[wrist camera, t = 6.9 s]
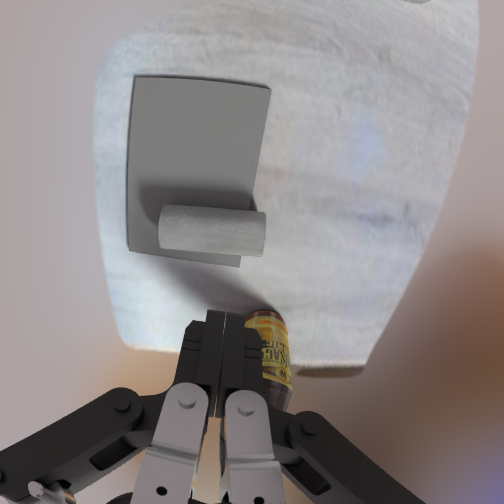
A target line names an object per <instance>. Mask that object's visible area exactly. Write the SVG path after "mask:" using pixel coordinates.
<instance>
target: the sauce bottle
mask: <svg viewBox="0 0 504 504" xmlns="http://www.w3.org/2000/svg"><path fill="white" fill-rule="evenodd" d="M245 327H247V328H255V329H257V331H258V333H259V335H260V337H261V338H262V365H263V392H264V396H265V398H266V400H267V401H268V402H269V403H270V404H271V405H272V406H273V407H275V408H276V409H278V410H281V411H284V412H286V411H287V407H288V404H289V400H290V397H291V394H292V381H291V368H290V357H289V344H288V332H287V328H286V325H285V322H284V320H283V318H282V317H281V316H280V315H279V314H276V313H274V312H271V311H266V310H261V311H257V312H255V313H252V314H250V315H249V316H247V317H246V319H245Z"/></svg>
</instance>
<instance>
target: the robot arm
mask: <svg viewBox="0 0 504 504" xmlns="http://www.w3.org/2000/svg"><path fill="white" fill-rule="evenodd" d="M406 1H409V2H413V3H423V2H427V1H429V0H406ZM224 322H225V327H224ZM223 331H224V334H223ZM216 397H217V402H216ZM215 403H216V413H215V417H216V418H221V423H220V432H219V466H220V483H219V500H220V503H218V504H286V501H285V494H284V487H283V479H282V472H283V473H284V474H285V475H286V476H287V477H288V478H289V479H290V480H291V481H292V482H293V483H294V484H295V485H296V486H297V487H298V488H299V489H300V490H301V491H302V492H303V493H304V494H305V495H306V496H307V497H308V498H309V499H310V500H312V501H313V502H314V503H315V504H426V503H424V502H423V501H422V500H420V499H419V498H418V497H416V496H415V495H414V494H412V493H411V492H410V491H409V490H407V489H406V488H405V487H404V486H402V485H401V484H400V483H398V482H397V481H396V480H395V479H393V478H392V477H391V476H390V475H389V474H387V473H386V472H385V471H384V470H382V469H381V468H380V467H379V466H378V465H376V464H375V463H374V462H373V461H372V460H371V459H369V458H368V457H367V456H366V455H365V454H364V453H362V452H361V451H360V450H359V449H358V448H357V447H355V446H354V445H353V444H352V443H351V442H350V441H349V440H348V439H346V438H345V437H344V436H343V435H342V434H341V433H340V432H339V431H338V430H336V429H335V428H334V427H333V426H332V425H331V424H330V423H329V422H328V421H327V420H326V419H325V418H324V417H322V416H321V415H320V414H318V413H315V412H311V411H303V412H300V413H297V414H296V415H293V414H290V413H287V412H284V411H281V410H278V409H276V408H275V407H273V406H272V405H271V404H270V403H269V402H268V401H267V400H266V398H265V396H264V392H263V365H262V338H261V337H260V335H259V333H258V331H257V329H255V328H247V327H245V314H238V313H230V312H227V315H226V321H225V312H222V311H215V310H208V311H207V316H206V322H202V321H195V320H193V321H192V322H191V323H190V324H189V325H188V327H187V328H186V330H185V334H184V338H183V342H182V347H181V351H180V356H179V360H178V365H177V369H176V374H175V378H174V382H173V384H172V385H171V387H170V388H169V389H168V390H166V391H165V392H163V393H160V394H157V395H148V396H139V395H138V394H137V393H136V392H134V391H133V390H131V389H128V388H123V387H121V388H120V387H119V388H115V389H112V390H110V391H108V392H106V393H105V394H103V395H102V396H100V397H98V398H96V399H95V400H93V401H91V402H90V403H88V404H86V405H84V406H83V407H81V408H79V409H77V410H76V411H74V412H72V413H71V414H69V415H67V416H65V417H63V418H62V419H60V420H58V421H56V422H54V423H53V424H51V425H49V426H47V427H45V428H44V429H42V430H40V431H38V432H36V433H34V434H32V435H31V436H29V437H27V438H25V439H23V440H21V441H19V442H17V443H15V444H14V445H12V446H10V447H8V448H6V449H4V450H2V451H0V495H1V496H2V497H4V498H5V499H6V500H7V501H8V503H9V504H76V500H75V498H74V494H75V493H77V492H79V491H81V490H83V489H84V488H86V487H87V486H89V485H91V484H93V483H94V482H96V481H97V480H99V479H101V478H102V477H104V476H106V475H107V474H109V473H110V472H112V471H113V470H115V469H116V468H118V467H120V466H121V465H123V464H124V463H126V462H127V461H129V460H130V459H131V458H133V457H134V456H136V455H137V454H139V453H140V452H142V451H143V450H145V449H146V448H147V449H146V451H145V454H144V457H143V460H142V463H141V467H140V470H139V474H138V477H137V481H136V484H135V488H134V492H130V493H126V494H123V495H120V496H118V497H116V498H114V499H113V500H111V501H110V502H108V503H107V504H206V503H203V502H200V501H197V500H194V499H193V496H194V491H195V485H196V478H197V472H198V467H199V462H200V457H201V451H202V446H203V441H204V436H205V434H206V432H207V426H208V417H213V416H214V410H215ZM281 471H282V472H281Z"/></svg>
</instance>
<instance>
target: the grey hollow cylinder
mask: <svg viewBox="0 0 504 504" xmlns="http://www.w3.org/2000/svg"><path fill="white" fill-rule="evenodd" d="M265 230H266V214H265V213H264V212H257V211H247V210H235V209H224V208H211V207H198V206H184V205H168V204H165V205H164V206H163V207H162V209H161V211H160V215H159V219H158V228H157V236H158V243H159V246H160V247H161V248H163V249H174V250H185V251H196V252H208V253H219V254H231V255H243V256H254V257H261V256H262V253H263V248H264V241H265Z"/></svg>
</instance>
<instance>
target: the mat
mask: <svg viewBox="0 0 504 504" xmlns="http://www.w3.org/2000/svg"><path fill="white" fill-rule="evenodd" d="M270 95H271V89H265V88H260V87H253V86H247V85H240V84H232V83H224V82H215V81H205V80H192V79H176V78H136V81H135V88H134V96H133V106H132V116H131V127H130V141H129V160H128V240H129V251H132V252H138V253H145V254H151V255H157V256H164V257H170V258H177V259H184V260H190V261H197V262H204V263H211V264H218V265H225V266H232V267H239V266H240V260H241V255H231V254H219V253H208V252H196V251H185V250H174V249H163V248H161V247H160V246H159V243H158V236H157V228H158V219H159V215H160V211H161V209H162V207H163V206H164V205H165V204H168V205H184V206H198V207H211V208H224V209H235V210H247V211H249V209H250V204H251V198H252V193H253V187H254V182H255V176H256V171H257V165H258V160H259V154H260V149H261V143H262V138H263V133H264V127H265V122H266V117H267V111H268V106H269V101H270Z"/></svg>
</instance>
